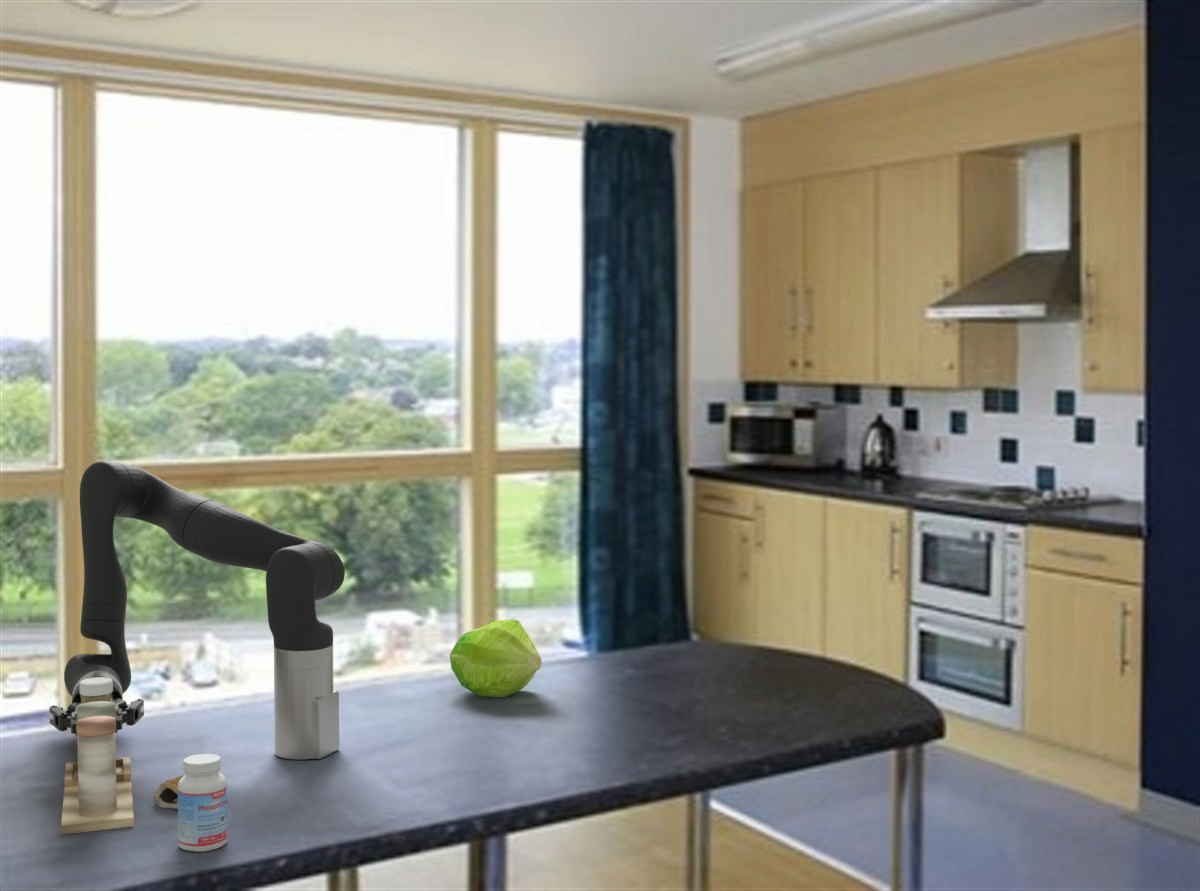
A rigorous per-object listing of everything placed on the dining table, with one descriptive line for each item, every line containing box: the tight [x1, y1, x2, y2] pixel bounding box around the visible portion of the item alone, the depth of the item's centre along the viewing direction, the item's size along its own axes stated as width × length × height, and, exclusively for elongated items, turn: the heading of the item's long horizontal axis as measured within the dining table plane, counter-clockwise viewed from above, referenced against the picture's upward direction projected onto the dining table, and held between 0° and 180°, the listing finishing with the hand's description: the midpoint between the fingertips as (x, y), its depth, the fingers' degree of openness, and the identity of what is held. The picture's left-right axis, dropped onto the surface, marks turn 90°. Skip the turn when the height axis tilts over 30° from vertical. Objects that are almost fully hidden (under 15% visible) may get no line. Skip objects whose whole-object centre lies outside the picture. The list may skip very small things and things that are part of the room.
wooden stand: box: [60, 701, 135, 835], centre depth 187 cm, size 26×9×14 cm, turn 21°
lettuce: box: [449, 618, 542, 698], centre depth 248 cm, size 15×20×14 cm
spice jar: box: [80, 677, 113, 704], centre depth 195 cm, size 5×5×14 cm
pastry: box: [153, 775, 184, 811], centre depth 188 cm, size 9×7×4 cm
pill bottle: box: [177, 753, 228, 853], centre depth 170 cm, size 6×6×11 cm
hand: (96, 727), depth 192 cm, fingers closed on spice jar, 4 cm apart
